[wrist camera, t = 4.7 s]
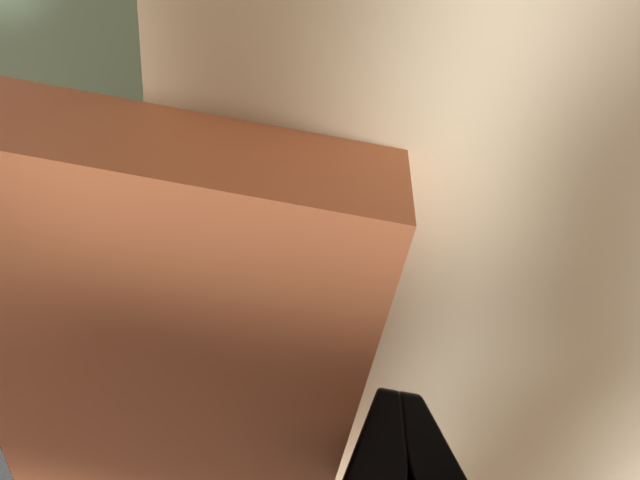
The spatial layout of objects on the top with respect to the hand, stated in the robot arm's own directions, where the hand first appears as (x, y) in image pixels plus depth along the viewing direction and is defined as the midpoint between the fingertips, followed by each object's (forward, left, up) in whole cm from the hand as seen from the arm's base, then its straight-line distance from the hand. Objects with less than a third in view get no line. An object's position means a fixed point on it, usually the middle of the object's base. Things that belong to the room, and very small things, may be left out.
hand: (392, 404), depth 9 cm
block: (+4, 0, -1) cm, 4 cm away
